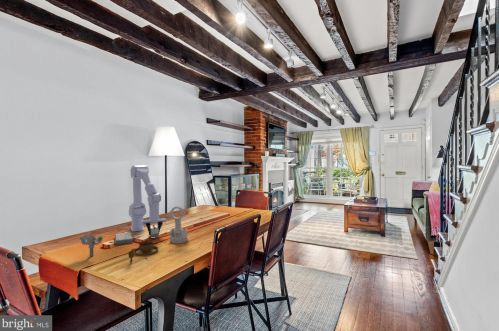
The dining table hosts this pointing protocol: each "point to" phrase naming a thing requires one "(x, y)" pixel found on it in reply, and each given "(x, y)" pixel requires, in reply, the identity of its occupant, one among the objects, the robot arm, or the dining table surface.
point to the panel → (123, 238)
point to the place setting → (143, 250)
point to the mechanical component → (90, 242)
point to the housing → (154, 231)
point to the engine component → (177, 228)
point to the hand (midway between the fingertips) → (153, 234)
